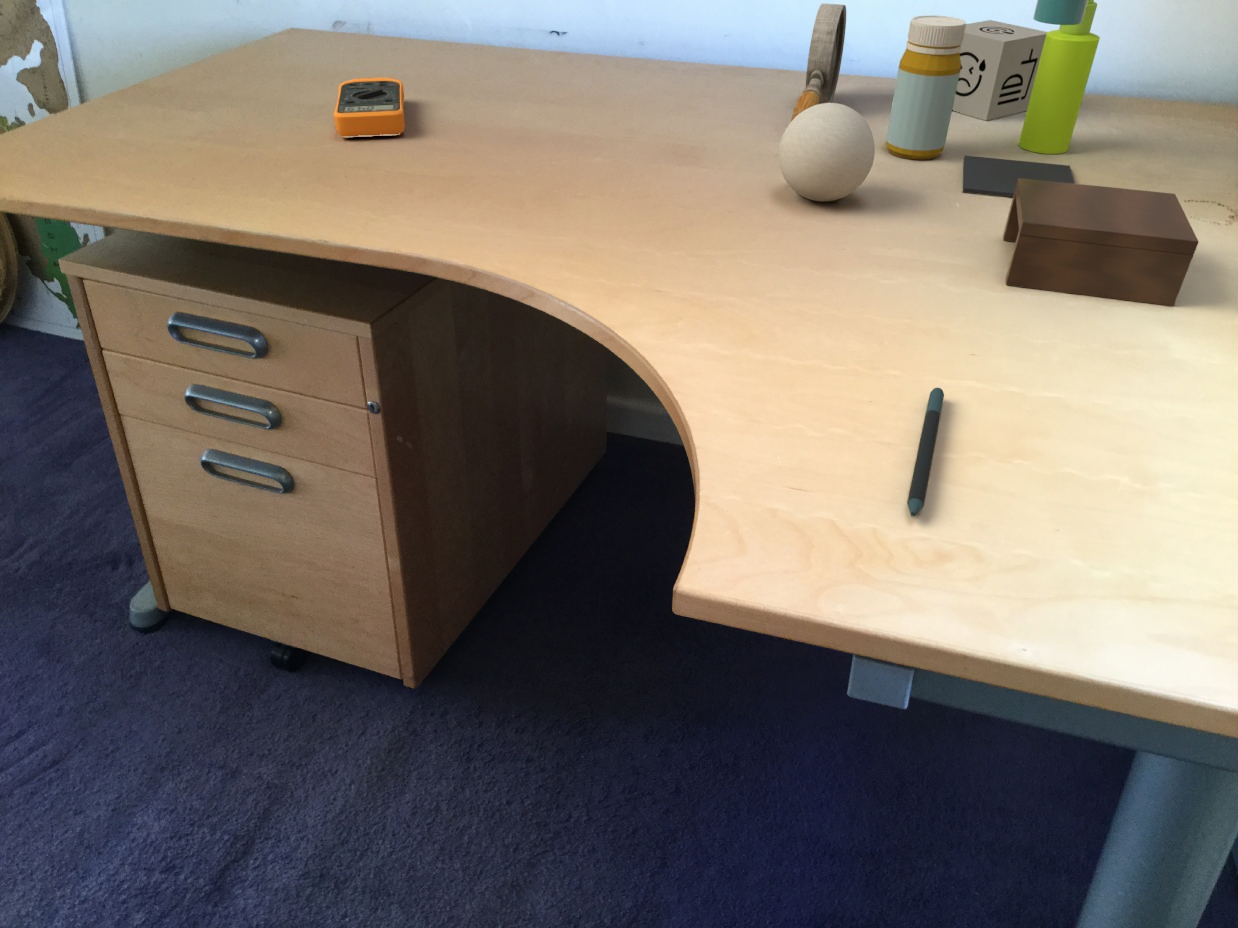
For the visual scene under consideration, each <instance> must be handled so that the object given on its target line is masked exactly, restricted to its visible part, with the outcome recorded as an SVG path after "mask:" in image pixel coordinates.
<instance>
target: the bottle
mask: <svg viewBox="0 0 1238 928" xmlns="http://www.w3.org/2000/svg"><path fill="white" fill-rule="evenodd" d="M909 21H910V22H909V26H908V27H909V28H908V32H907V41H906V46H905V50H904V52H903V54H902V56H901V58H900V60H899V64H898V69H897V75H896V80H895V86H894V93H893V98H892V103H891V108H890V115H889V121H888V126H887V133H886V138H885V139H886V140H885V147H886V148H887V150H888V152H889V153H890V154H891V155H894V156H896V157H898V158H901V159H907V160H920V161H921V160H932V159H935V158H937V157H938V156H939V155H940V154H942V153H943V151H944V149H945V145H946V142H947V141H946V140H947V137H948V131H949V127H950V122H951V117H952V113H953V111H952V108H953V104H954V99H955V94H956V89H957V84H958V80H959V75H960V69H961V61H960V53H959V52H960V50H961V43H962V41H963V37H964V32H965V27H966V24H967V22H966V20H964V19H962V18H958V17H954V16H948V15H933V14H931V15H917V16H916V15H915V16H913V17H911V20H909Z"/></svg>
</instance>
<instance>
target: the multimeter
mask: <svg viewBox="0 0 1238 928" xmlns="http://www.w3.org/2000/svg"><path fill="white" fill-rule="evenodd" d="M404 102H405V89H404V83H403V82H402V81H401V80H399V79H396V78H390V77H367V78H365V77H364V78H354V79H349V80H346V81H343V82H341V83H340V84H339V85H338V95H337V101H336V106H335V108H334V109H335V110H334V112H333V119H334V125H335V129H336V132H337V134H338V135H339V136H340V135H341V136H358V135H380V134H382V135H383V134H399V133H402V132H403V133H404V132H405V130H406V129H405V128H406V123H405V112H404V104H405V103H404ZM403 133H402V134H403ZM341 136H340V137H341Z"/></svg>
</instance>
